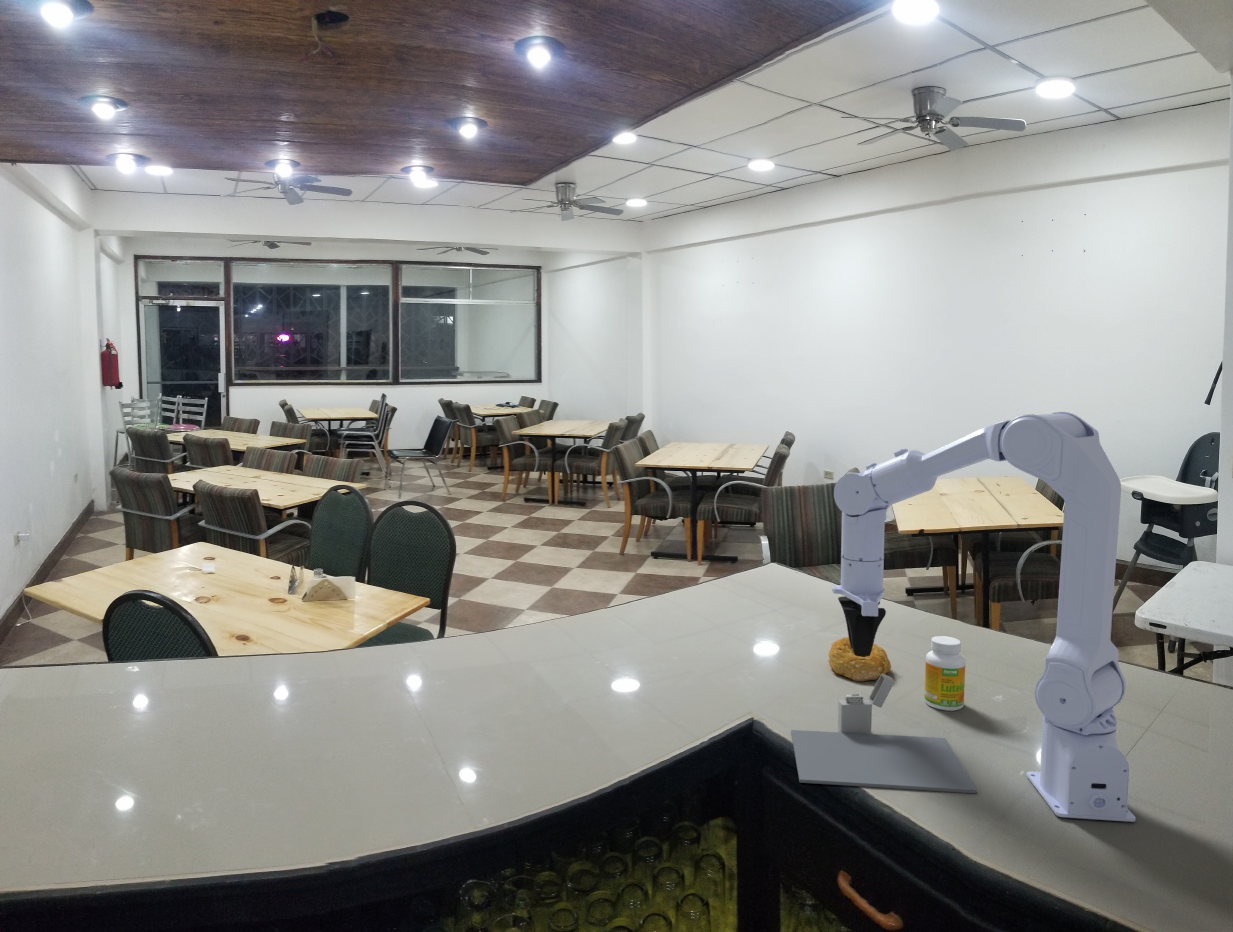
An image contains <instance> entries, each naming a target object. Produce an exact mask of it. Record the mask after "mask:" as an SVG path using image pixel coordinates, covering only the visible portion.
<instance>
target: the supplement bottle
mask: <svg viewBox="0 0 1233 932" xmlns="http://www.w3.org/2000/svg"><path fill="white" fill-rule="evenodd" d="M930 641H931V643H930V649H931V650H930V651H929V652H927V653H926V656H925V668H924V669H925V672H924V673H925V674H924V695H923V696H924V697H923V698H924V702H925V704H926V705H928V706H929V707H931V708H933V709H937V710H941V711H946V712H947V711H948V712H949V711H950V712H951V711H952V712H953V711H958V710H961V709H962V708H963V707H964V705H965V684H966V682H965V681H966V659H965V658H964V656H963V655H962V654H961V653H960V652H961V648H962V647H961V644H962V643H961V641H960V640H959V639H958V638H955V637H951V636H944V635H940V636H939V635H937V636H932V638H931V639H930Z"/></svg>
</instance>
